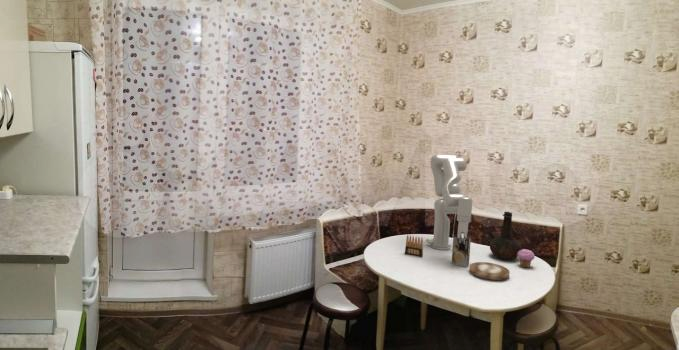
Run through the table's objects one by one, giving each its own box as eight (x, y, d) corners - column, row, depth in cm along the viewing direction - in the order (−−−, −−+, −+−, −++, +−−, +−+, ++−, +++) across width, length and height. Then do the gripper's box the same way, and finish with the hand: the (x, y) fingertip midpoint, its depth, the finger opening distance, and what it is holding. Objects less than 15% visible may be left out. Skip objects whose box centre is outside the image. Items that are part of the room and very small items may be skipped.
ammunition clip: (404, 254, 242) (405, 234, 240) (405, 253, 244) (406, 234, 242) (421, 257, 237) (423, 237, 235) (422, 256, 238) (424, 237, 237)
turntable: (469, 276, 208) (469, 272, 207) (469, 263, 226) (469, 259, 226) (510, 282, 201) (511, 278, 201) (507, 268, 220) (508, 264, 220)
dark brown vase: (517, 254, 248) (522, 210, 244) (522, 264, 231) (527, 217, 227) (487, 251, 253) (491, 207, 249) (490, 260, 236) (494, 214, 232)
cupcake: (516, 267, 225) (518, 250, 224) (516, 262, 233) (517, 246, 232) (534, 270, 222) (535, 253, 221) (532, 265, 230) (534, 248, 229)
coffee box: (469, 263, 229) (471, 236, 227) (467, 267, 223) (469, 239, 221) (453, 260, 233) (455, 234, 231) (450, 264, 227) (452, 236, 225)
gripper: (457, 214, 234) (455, 243, 236) (456, 221, 217) (454, 251, 219) (471, 215, 231) (468, 244, 233) (470, 222, 215) (468, 253, 217)
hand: (461, 247), depth 226 cm, fingers open, 9 cm apart
